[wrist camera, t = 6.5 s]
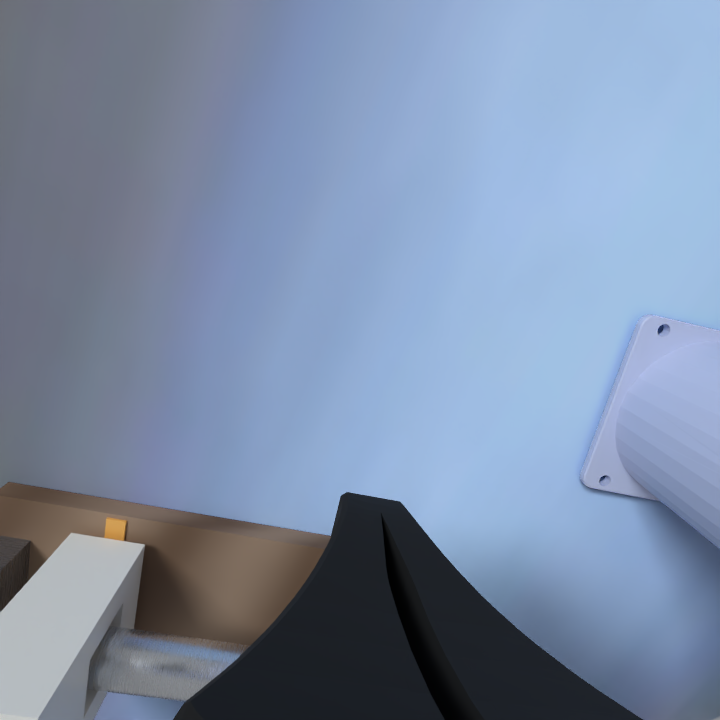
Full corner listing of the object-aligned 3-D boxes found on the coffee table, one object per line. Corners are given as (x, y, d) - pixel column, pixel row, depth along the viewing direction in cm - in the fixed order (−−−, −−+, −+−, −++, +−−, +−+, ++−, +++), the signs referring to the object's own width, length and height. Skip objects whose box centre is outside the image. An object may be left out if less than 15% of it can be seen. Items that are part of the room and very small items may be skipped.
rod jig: (348, 539, 22) (352, 638, 17) (318, 659, 24) (313, 784, 18) (8, 482, 20) (-109, 570, 15) (1, 614, 22) (-107, 737, 17)
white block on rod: (145, 544, 20) (38, 718, 13) (131, 643, 21) (27, 852, 14) (71, 532, 20) (-82, 704, 12) (62, 634, 21) (-82, 843, 14)
